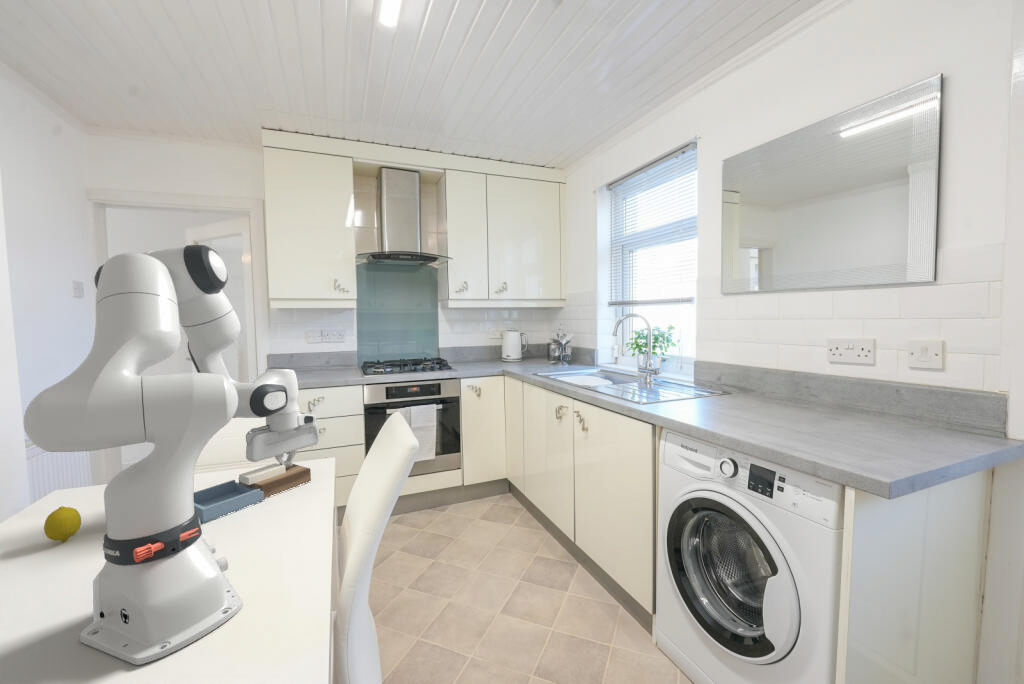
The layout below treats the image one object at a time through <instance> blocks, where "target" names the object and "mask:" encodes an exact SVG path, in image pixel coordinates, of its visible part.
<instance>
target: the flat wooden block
mask: <svg viewBox="0 0 1024 684" xmlns="http://www.w3.org/2000/svg"><path fill="white" fill-rule="evenodd" d="M285 469H286V473H283V474H280V475H277V476H275V477H272V478H269V479H266V480H263V481H260V482H257V483H254V484H251V485H247V484H244V483H242V482H240V481H239V480H238V483H241V484H244V485H246V486H249V487H252V488H255V489H261V491H263V492H264V498H266V497H269V496H271V495H274V494H277V493H280V492H282V491H285V490H288V489H290V488H293V487H296V486H298V485H300V484H303V483H306V482H309V481H311V482H312V477H311V474H312V473H311V468H310V467H307V466H306V467H305V466H303V465H299V464H296V463H292V466H291V467H287V468H285ZM309 483H310V482H309ZM306 484H307V483H306ZM298 487H299V486H298ZM296 488H297V487H296ZM293 489H294V488H293ZM290 490H291V489H290ZM288 491H289V490H288ZM285 492H286V491H285ZM282 493H283V492H282ZM280 494H281V493H280ZM277 495H278V494H277ZM274 496H275V495H274ZM269 498H270V497H269Z"/></svg>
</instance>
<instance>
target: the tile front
mask: <svg viewBox="0 0 1024 684" xmlns="http://www.w3.org/2000/svg"><path fill="white" fill-rule="evenodd" d="M266 479H268V472H267V471H264V470H260V469H259V468H256V469H252V470H250V471H249V470H248V471H247V472H244V473H241V474H238V482H239V481H240V482H242V483H244V484H247V485H251V484H254V483H257V482H260V481H263V480H266Z"/></svg>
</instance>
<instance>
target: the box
mask: <svg viewBox="0 0 1024 684" xmlns="http://www.w3.org/2000/svg"><path fill="white" fill-rule="evenodd" d="M262 500H264V501H265V499H264V492H263V491H261V489H255V488H252V487H249V486H246V485H244V484H241V483H239V481H238V482H236V479H231V480H228V481H226V482H223V483H220V484H217V485H213V486H209V487H207V488H204V489H200V490H197V491H194V509H195V510H196V511H197V514H198V517H199V519H200V523H201V522H202V523H201V524H203V523H205V524H207V523H206V522H208V521H210V522H212V521H211V520H213V519H215V520H217V519H216V518H218V517H220V516H223V515H226V514H228V513H231V512H234V511H236V512H238V511H237V510H239V509H242V508H244V507H247V506H249V505H252V504H255V503H257V502H260V501H262ZM260 503H261V502H260ZM257 504H258V503H257ZM255 505H256V504H255ZM252 506H253V505H252ZM247 508H248V507H247ZM244 509H245V508H244ZM242 510H243V509H242ZM239 511H240V510H239ZM234 513H235V512H234ZM231 514H232V513H231ZM226 516H227V515H226ZM223 517H224V516H223ZM218 519H219V518H218ZM213 521H214V520H213ZM208 523H209V522H208Z"/></svg>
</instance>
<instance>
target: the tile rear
mask: <svg viewBox="0 0 1024 684" xmlns="http://www.w3.org/2000/svg"><path fill="white" fill-rule="evenodd" d="M258 469H260V470H264V471H267V472H268V479H269V478H272V477H275V476H277V475H280V474H283V473H286V469H285V466H284V465H280V464H279V463H278V462H277V463H276V462H275V463H272V464H269V465H265V466H261V467H260V468H258Z"/></svg>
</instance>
